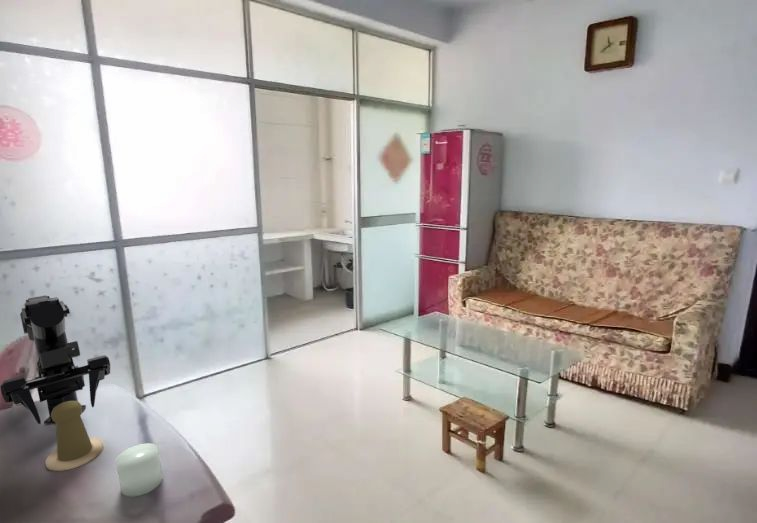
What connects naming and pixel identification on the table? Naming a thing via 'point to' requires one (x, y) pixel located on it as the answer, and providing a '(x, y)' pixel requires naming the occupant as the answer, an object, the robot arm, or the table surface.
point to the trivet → (58, 465)
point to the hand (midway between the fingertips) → (67, 414)
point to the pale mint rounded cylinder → (139, 469)
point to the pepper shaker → (70, 431)
